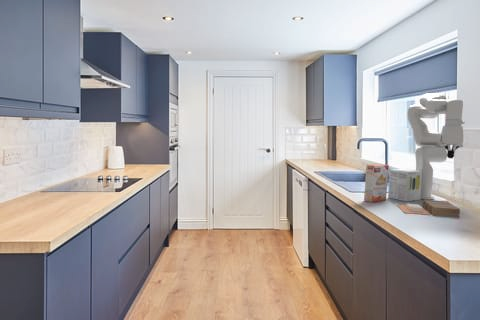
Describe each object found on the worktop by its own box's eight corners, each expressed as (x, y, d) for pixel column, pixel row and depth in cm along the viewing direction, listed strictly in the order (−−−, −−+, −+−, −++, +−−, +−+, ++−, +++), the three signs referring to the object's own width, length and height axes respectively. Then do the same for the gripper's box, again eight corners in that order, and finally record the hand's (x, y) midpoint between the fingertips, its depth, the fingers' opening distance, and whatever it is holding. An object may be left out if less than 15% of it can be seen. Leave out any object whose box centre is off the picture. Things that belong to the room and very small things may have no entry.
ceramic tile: (418, 204, 204) (417, 208, 205) (406, 203, 206) (405, 207, 206) (422, 207, 196) (422, 211, 196) (410, 207, 197) (409, 210, 197)
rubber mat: (396, 205, 213) (396, 204, 213) (420, 206, 210) (420, 206, 210) (404, 213, 193) (404, 212, 193) (430, 214, 191) (430, 214, 191)
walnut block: (422, 206, 210) (422, 199, 210) (446, 208, 208) (447, 201, 207) (432, 215, 191) (433, 207, 190) (459, 217, 188) (459, 208, 188)
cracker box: (372, 202, 218) (374, 165, 216) (363, 200, 223) (365, 164, 221) (387, 200, 226) (389, 164, 224) (378, 198, 231) (380, 163, 229)
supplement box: (405, 201, 225) (407, 171, 223) (387, 197, 236) (389, 169, 234) (420, 200, 231) (422, 170, 229) (402, 196, 242) (404, 168, 241)
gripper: (466, 123, 206) (463, 158, 207) (435, 123, 209) (433, 157, 210) (471, 123, 198) (468, 159, 200) (439, 122, 201) (437, 158, 203)
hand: (450, 158), depth 205 cm, fingers closed
